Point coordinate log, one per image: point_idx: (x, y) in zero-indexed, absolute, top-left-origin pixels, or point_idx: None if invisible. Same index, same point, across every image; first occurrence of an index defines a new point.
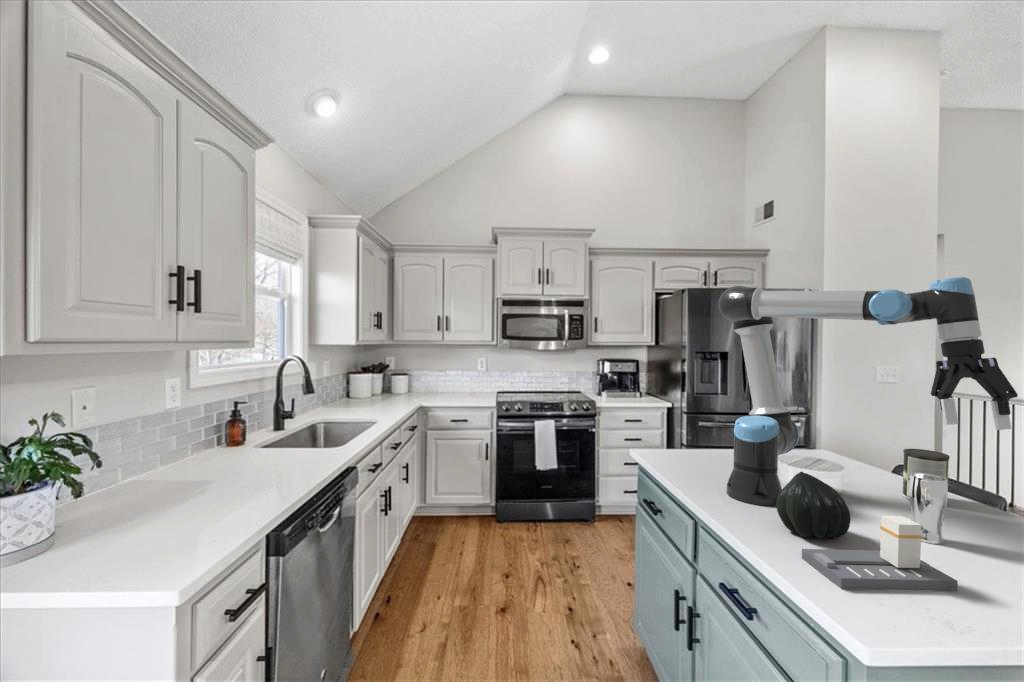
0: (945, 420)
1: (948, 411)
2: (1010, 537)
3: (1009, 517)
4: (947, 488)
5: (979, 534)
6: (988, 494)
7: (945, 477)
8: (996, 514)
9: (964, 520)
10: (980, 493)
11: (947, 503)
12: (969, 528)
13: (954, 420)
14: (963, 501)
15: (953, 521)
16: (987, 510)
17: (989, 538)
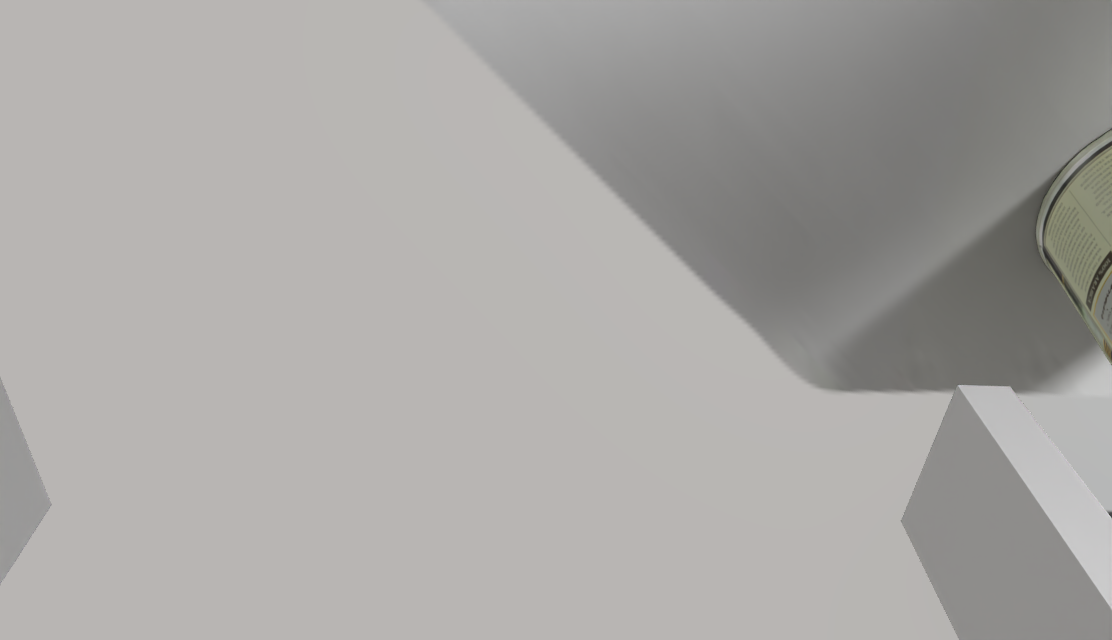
0: (1020, 437)
1: (1061, 630)
2: (588, 143)
3: (818, 372)
4: (1080, 315)
5: (623, 10)
6: None
7: (1108, 341)
8: (861, 355)
9: (817, 124)
10: None
11: (1043, 260)
12: (707, 37)
13: (942, 531)
14: (1046, 371)
15: (813, 42)
16: (913, 364)
17: (570, 14)
